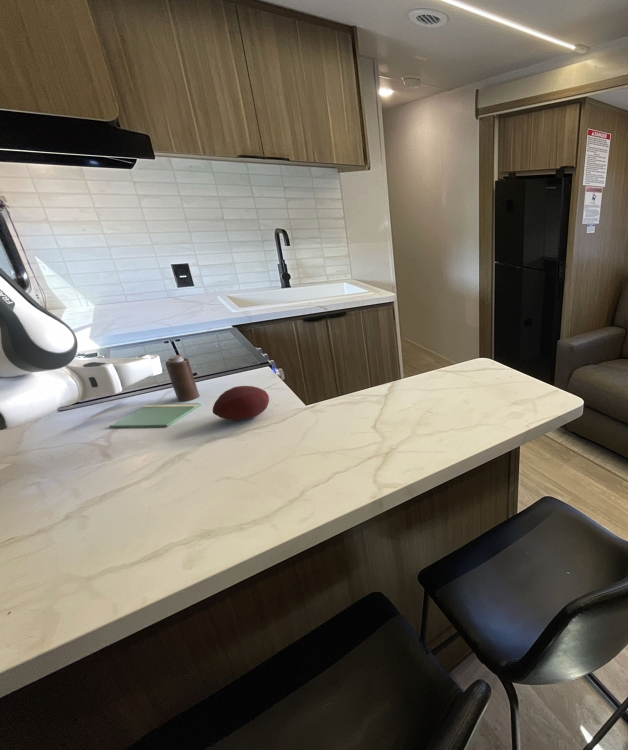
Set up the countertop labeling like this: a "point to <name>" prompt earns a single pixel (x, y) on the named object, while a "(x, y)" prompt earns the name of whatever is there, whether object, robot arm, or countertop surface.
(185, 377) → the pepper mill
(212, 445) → the countertop surface
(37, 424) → the countertop surface
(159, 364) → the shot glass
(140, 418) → the tea towel
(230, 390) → the potato
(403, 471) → the countertop surface
